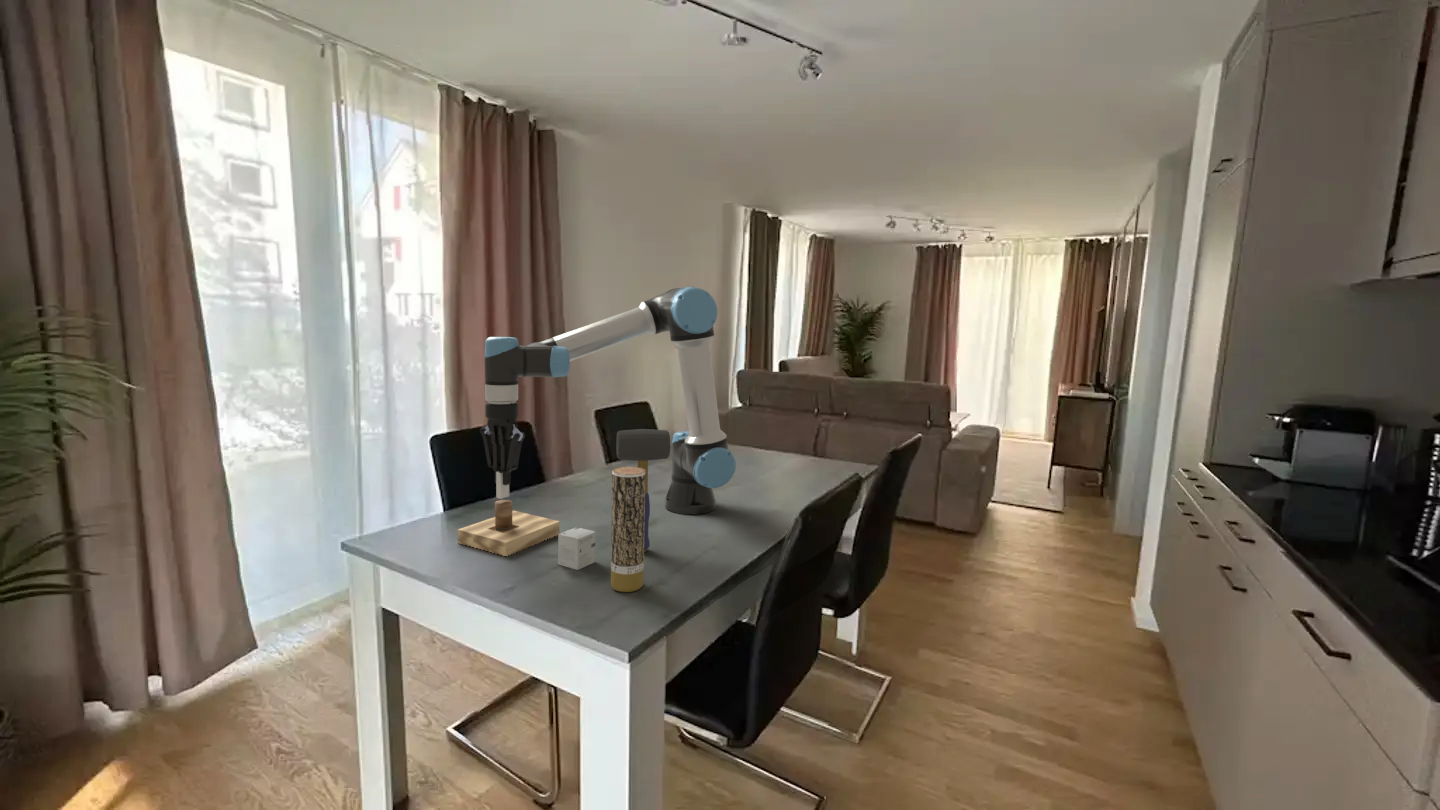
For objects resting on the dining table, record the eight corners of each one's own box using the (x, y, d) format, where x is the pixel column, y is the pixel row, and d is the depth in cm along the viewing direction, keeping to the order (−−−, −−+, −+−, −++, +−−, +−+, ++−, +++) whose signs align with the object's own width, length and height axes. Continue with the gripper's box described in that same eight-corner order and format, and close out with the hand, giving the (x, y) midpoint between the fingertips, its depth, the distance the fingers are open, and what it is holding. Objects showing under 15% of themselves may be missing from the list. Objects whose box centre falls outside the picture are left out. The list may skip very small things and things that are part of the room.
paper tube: (644, 580, 134) (646, 467, 131) (641, 594, 128) (644, 475, 124) (613, 579, 134) (614, 466, 131) (608, 593, 127) (609, 474, 124)
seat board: (559, 534, 160) (559, 521, 160) (505, 557, 144) (505, 542, 144) (513, 523, 167) (513, 510, 167) (457, 543, 152) (457, 529, 151)
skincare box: (577, 570, 138) (578, 539, 137) (557, 564, 141) (557, 533, 140) (595, 562, 143) (596, 531, 142) (575, 556, 146) (575, 526, 145)
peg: (516, 540, 155) (515, 501, 153) (503, 545, 151) (503, 505, 150) (504, 537, 157) (503, 498, 155) (491, 542, 153) (491, 502, 152)
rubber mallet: (616, 558, 146) (618, 432, 142) (613, 546, 153) (615, 426, 149) (669, 555, 149) (672, 431, 145) (664, 544, 156) (666, 426, 152)
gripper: (533, 402, 149) (534, 497, 153) (494, 397, 155) (495, 489, 159) (509, 405, 143) (510, 505, 146) (470, 400, 149) (471, 496, 152)
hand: (502, 496), depth 152 cm, fingers closed
